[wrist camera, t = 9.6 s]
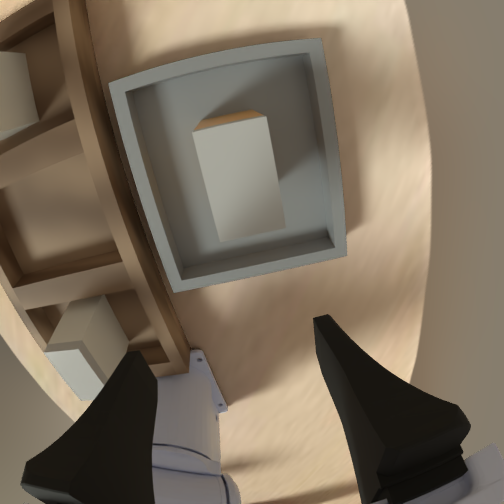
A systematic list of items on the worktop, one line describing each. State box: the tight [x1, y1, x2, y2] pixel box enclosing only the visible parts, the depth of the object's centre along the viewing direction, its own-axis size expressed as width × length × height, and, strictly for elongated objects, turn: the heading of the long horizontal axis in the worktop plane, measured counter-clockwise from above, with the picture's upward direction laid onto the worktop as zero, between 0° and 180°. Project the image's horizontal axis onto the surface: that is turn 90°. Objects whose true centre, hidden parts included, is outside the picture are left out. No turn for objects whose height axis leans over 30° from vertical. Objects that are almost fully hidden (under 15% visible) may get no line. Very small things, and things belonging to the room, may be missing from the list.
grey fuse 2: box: [44, 295, 129, 401], centre depth 20 cm, size 5×3×6 cm, turn 11°
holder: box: [0, 0, 191, 377], centre depth 18 cm, size 28×12×3 cm, turn 11°
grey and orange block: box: [192, 109, 286, 242], centre depth 16 cm, size 5×3×6 cm, turn 11°
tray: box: [108, 38, 347, 293], centre depth 18 cm, size 14×12×2 cm
